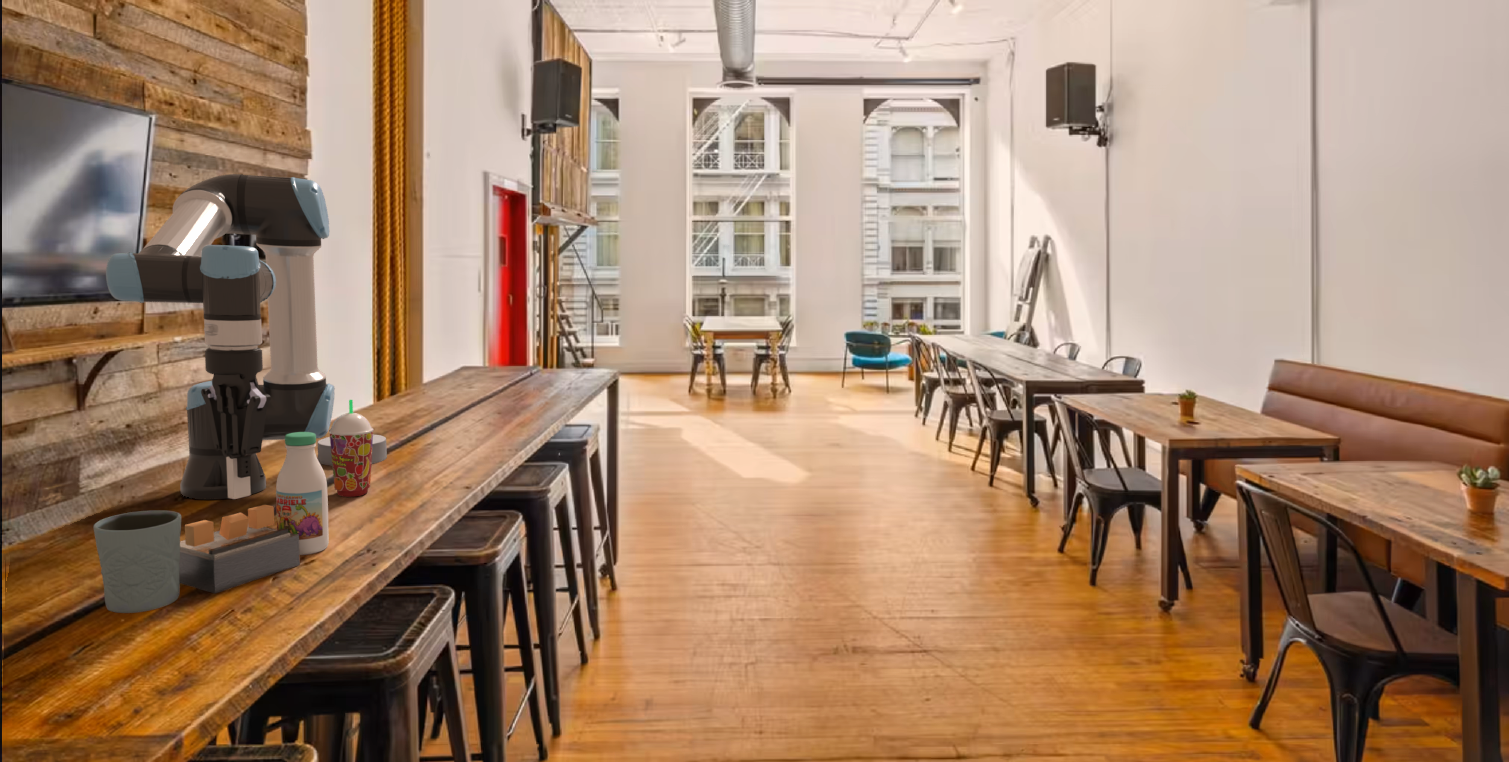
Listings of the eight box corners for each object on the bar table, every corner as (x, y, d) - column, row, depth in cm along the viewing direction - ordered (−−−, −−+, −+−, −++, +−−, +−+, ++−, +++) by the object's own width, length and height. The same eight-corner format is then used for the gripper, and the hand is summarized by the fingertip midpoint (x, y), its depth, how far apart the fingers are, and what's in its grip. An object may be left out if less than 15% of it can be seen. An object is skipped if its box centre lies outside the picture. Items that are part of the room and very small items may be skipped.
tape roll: (303, 462, 204) (302, 441, 204) (350, 450, 219) (350, 431, 218) (355, 469, 200) (355, 448, 199) (400, 456, 214) (400, 437, 214)
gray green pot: (130, 620, 115) (125, 534, 114) (80, 607, 119) (74, 523, 117) (201, 594, 125) (198, 515, 123) (153, 583, 128) (149, 505, 126)
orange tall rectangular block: (185, 544, 127) (184, 525, 127) (205, 538, 130) (204, 520, 130) (194, 546, 127) (193, 527, 126) (214, 541, 129) (213, 522, 129)
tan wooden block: (248, 527, 137) (247, 508, 136) (265, 522, 139) (265, 504, 139) (257, 529, 136) (256, 510, 135) (274, 524, 139) (273, 506, 138)
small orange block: (219, 534, 132) (222, 517, 131) (237, 528, 135) (241, 512, 134) (227, 539, 131) (231, 523, 130) (246, 534, 134) (249, 518, 133)
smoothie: (321, 495, 177) (319, 400, 174) (353, 486, 185) (352, 395, 182) (351, 501, 174) (349, 404, 171) (383, 491, 182) (381, 399, 179)
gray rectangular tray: (162, 578, 130) (160, 540, 129) (249, 552, 143) (247, 517, 142) (215, 593, 125) (213, 554, 124) (299, 564, 138) (298, 529, 137)
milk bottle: (290, 541, 149) (286, 428, 146) (336, 542, 149) (333, 430, 147) (269, 556, 141) (265, 437, 138) (317, 557, 142) (314, 439, 139)
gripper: (181, 345, 130) (188, 495, 133) (238, 352, 124) (244, 508, 128) (229, 342, 136) (234, 485, 140) (285, 348, 131) (289, 497, 134)
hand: (239, 496), depth 134 cm, fingers closed
